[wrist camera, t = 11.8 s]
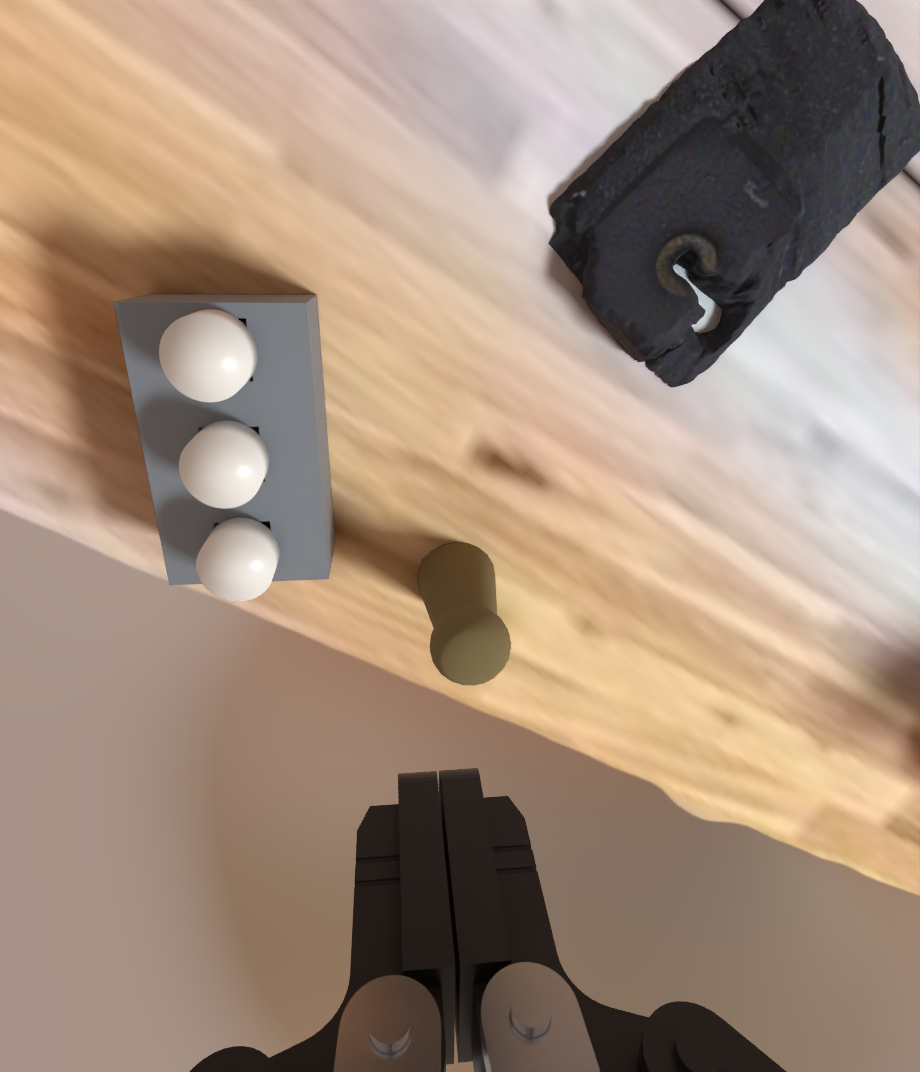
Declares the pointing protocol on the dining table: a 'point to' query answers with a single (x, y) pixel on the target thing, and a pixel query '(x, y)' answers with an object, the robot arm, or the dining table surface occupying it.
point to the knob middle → (224, 464)
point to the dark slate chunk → (737, 179)
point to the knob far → (238, 559)
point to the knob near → (208, 355)
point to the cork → (463, 614)
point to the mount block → (266, 401)
